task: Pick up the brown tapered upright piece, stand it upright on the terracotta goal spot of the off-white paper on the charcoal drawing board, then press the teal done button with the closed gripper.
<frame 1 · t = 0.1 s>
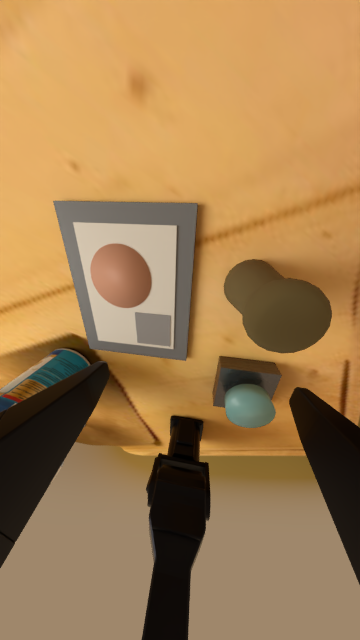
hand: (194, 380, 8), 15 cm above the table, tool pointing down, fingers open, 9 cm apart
button housing: (240, 379, 26), on the table
drawing board: (132, 292, 22), on the table
beverage bottle: (74, 364, 30), on the table
done button: (248, 406, 22), point 5 cm above the table, slide at 0.0 cm
brown tapered upright piece: (248, 285, 20), on the table
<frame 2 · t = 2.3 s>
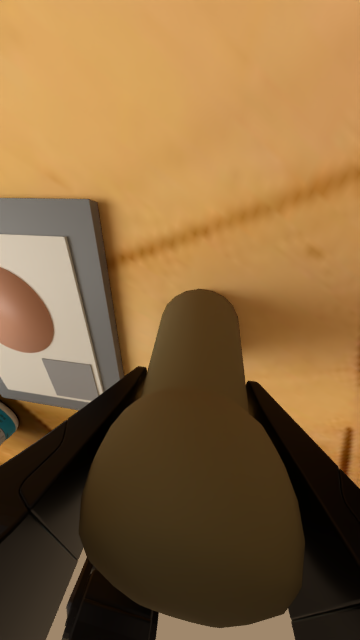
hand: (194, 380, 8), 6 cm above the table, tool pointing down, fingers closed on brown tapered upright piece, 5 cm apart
drawing board: (38, 329, 15), on the table
brown tapered upright piece: (198, 325, 13), on the table, touching gripper
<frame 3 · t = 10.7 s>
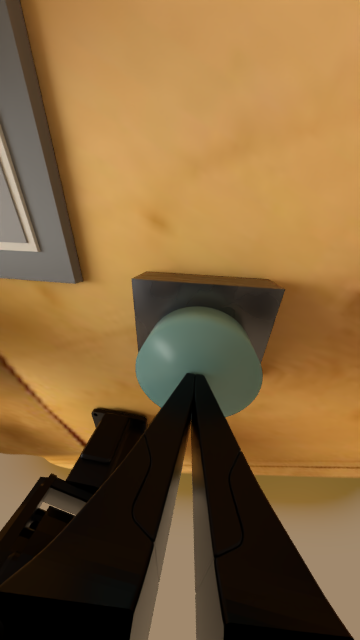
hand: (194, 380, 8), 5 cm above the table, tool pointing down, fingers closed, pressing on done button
button housing: (199, 328, 12), on the table
done button: (196, 365, 9), point 4 cm above the table, slide at 0.6 cm, touching gripper
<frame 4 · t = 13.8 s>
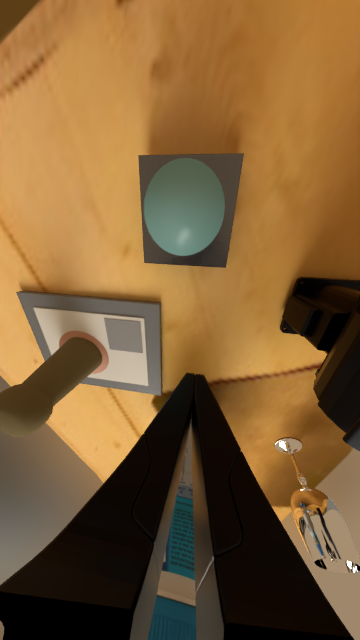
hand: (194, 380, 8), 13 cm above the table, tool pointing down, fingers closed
button housing: (188, 220, 16), on the table
drawing board: (98, 345, 25), on the table
beverage bottle: (189, 413, 29), on the table
done button: (184, 214, 13), point 4 cm above the table, slide at 1.0 cm
wineglass: (287, 444, 29), on the table
brown tapered upright piece: (84, 353, 25), point 1 cm above the table, touching drawing board
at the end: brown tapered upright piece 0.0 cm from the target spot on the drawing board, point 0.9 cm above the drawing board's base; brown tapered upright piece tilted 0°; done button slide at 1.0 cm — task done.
